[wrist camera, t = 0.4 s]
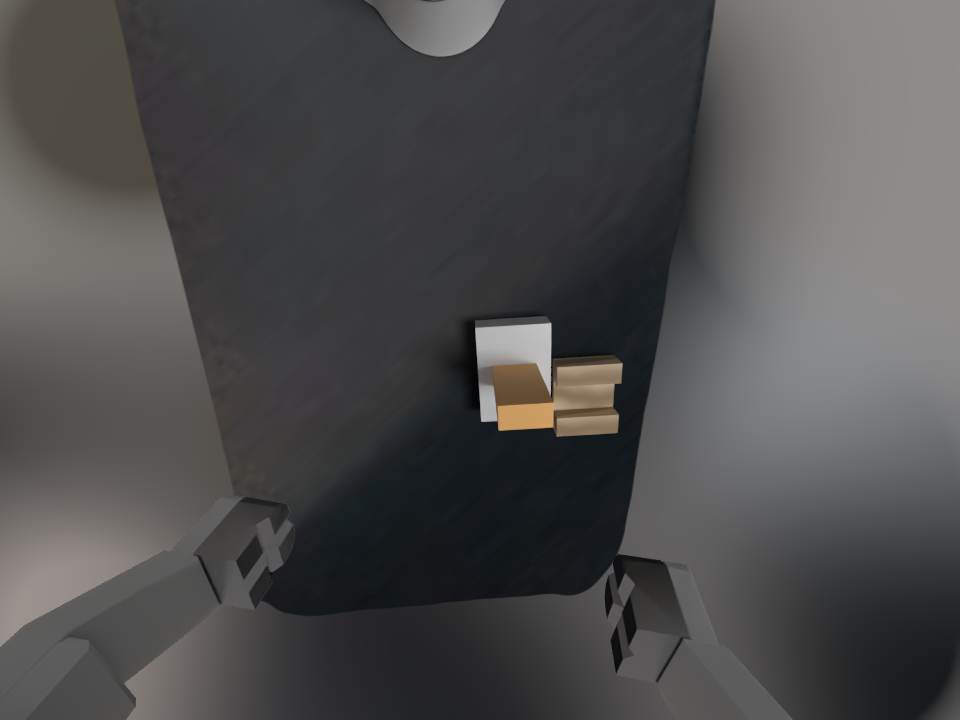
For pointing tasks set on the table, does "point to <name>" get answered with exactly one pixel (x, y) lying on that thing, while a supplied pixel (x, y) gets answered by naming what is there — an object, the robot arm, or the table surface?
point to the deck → (510, 352)
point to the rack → (585, 395)
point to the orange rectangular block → (521, 397)
